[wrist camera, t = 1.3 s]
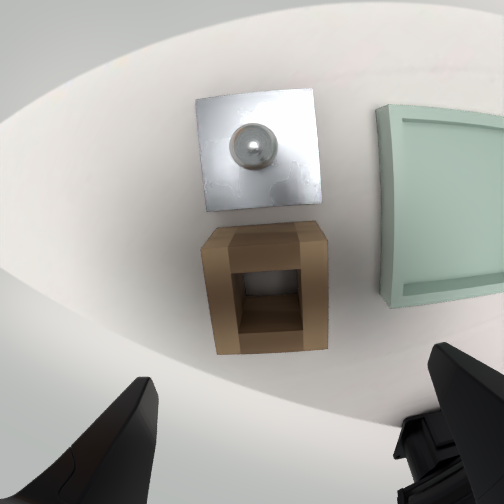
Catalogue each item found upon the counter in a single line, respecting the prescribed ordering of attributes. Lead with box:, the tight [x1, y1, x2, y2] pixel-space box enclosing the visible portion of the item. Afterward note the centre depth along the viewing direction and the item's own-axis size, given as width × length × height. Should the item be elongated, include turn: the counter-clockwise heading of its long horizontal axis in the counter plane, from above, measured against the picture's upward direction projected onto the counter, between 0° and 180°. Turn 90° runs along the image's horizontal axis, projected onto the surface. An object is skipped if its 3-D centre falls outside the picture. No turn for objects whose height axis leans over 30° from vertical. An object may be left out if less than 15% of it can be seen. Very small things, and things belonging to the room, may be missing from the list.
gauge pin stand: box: [195, 89, 322, 212], centre depth 16 cm, size 7×7×7 cm
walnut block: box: [201, 221, 328, 355], centre depth 20 cm, size 6×6×5 cm
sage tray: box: [376, 104, 504, 309], centre depth 18 cm, size 13×13×2 cm
